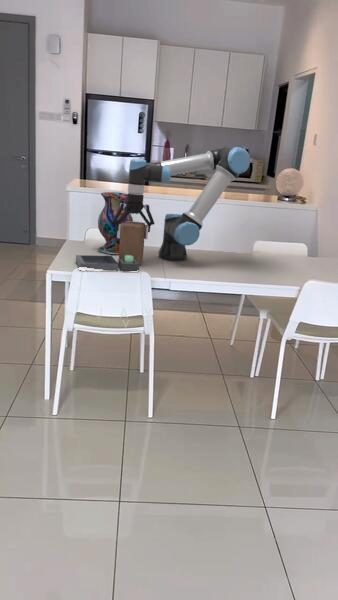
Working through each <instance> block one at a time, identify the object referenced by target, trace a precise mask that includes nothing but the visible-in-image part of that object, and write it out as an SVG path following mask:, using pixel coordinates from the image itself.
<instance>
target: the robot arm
mask: <svg viewBox="0 0 338 600" xmlns="http://www.w3.org/2000/svg"><path fill="white" fill-rule="evenodd" d="M250 158H251V156H250V154H249V153H248V151H247V150H246V149H244V148H243V147H239V146H228V145H227V146H223V147H222V146H221V147H219V148H215V149H212V150H208V151H206V153H201V154H195V155H191V156H185V157H183V156H182V157H179V158H173V159H167V160H164V161H157V162H147V160H145V159H138V158H132V159H130V163H129V169H128V184H127V192H128V193H127V194H128V195H127V203H126V204H123V203H120V207H119V209H118V211H117V213H116V214H115V216H114V218H113V220H112V222H113V223H115V224H116V228H115V230H116V231H117V238H120V227H121V225H120V224H119V223H120V222H121V221H122V220H123V219H124V218H125V217H126V216H127V215H128V214H129V213H131V215H134V214H135V215H138V214H139V215H140V217H141V218H142V219H143V221H144V223H145V237H144V240H148V238H149V237H148V235H149V233H150V232H151V226H153V225H155V221H154V219H153V216H152V213H151V209H150V205H149V204H144V193H145V183H146V182H152V183H161V184H165V183H169V182H170V180H171V177H172V176H176V175H177V176H178V175H181V174H187V173H191V172H193V173H194V172H198V171H203V170H209V171H214V170H216V171H215V172H214V174H213V175H212V176H211V178H210V180H209V181H208V183H206V185H205V186H204V188H203V189H202V190H201V192H200V194H199V195H198V197H197V198H196V200H195V201H194V202H193V204H192V205H191V206H190V208H189V210H188V211H185V212H183V213H182V214H180V213H167V214H165V216H164V217H165V218H164V224H163V235H162V237H163V238H162V239H163V240H162V243H161V246H160V248H159V250H158V258H160V259H163V260H166V261H171V262H172V261H173V262H174V261H175V262H180V261H185V260H187V258H188V252H187V249H186V247H187V246H191V245H194V244H195V243H196V242H197V241H198V239H199V238H200V236H201V235H200V232H201V230H202V228H203V227H204V226H203V221H204V220H205V218H206V217H207V216H208V214H209V213H210V211H211V210H212V208H213V207H214V206H215V204H216V203H217V201H218V200H219V199H220V197H221V196H222V194H223V192H225V190H226V189H227V187H228V186H229V184H230V183H231V182H233V181H236V180H237V178H238V177H239V176H240V174H243V173H245V172H246V171H248V169H249V168H250V164H251V159H250ZM125 207H126V208H127V210H126V211H125V212H124V213H123V214H122V216H121V217H120V218H119V219H118V217H119V215H120V213H121V212H122V210H123V208H125ZM143 209H144V210H145V212H146V214H147V216H148V218H147V217H146V216H145V214H144V212H143V211H142V210H143ZM117 219H118V220H117ZM116 220H117V221H116Z"/></svg>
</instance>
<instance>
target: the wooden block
mask: <svg viewBox="0 0 338 600" xmlns="http://www.w3.org/2000/svg"><path fill="white" fill-rule="evenodd" d="M145 225H146V222H142V221H141V222H139V221H134V220H133V221H125V222H124V223H122V224H121V229H120V246H119V254H118V259H125V255H132V256H134V257H133V259H135V260H136V261H137V262H138V263H139V266H140V265H141V264H142V263H144V262H143V261H144V248H145V238H144V237H145Z"/></svg>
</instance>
